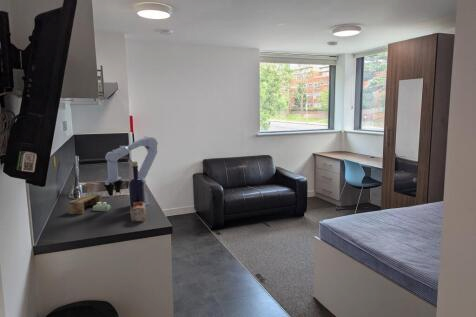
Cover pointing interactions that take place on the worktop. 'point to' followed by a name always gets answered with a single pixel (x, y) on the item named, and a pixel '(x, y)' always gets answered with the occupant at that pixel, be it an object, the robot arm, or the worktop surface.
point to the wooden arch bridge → (83, 203)
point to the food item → (138, 212)
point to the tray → (101, 207)
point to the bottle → (136, 187)
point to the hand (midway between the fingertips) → (114, 194)
